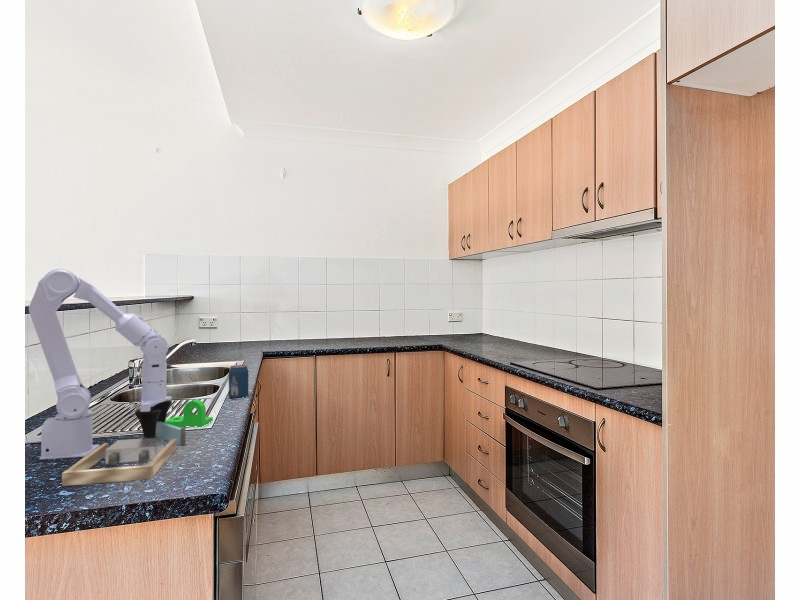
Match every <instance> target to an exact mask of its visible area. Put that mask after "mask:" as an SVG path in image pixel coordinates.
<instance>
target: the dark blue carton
mask: <svg viewBox="0 0 800 600" xmlns="http://www.w3.org/2000/svg"><path fill="white" fill-rule="evenodd" d="M228 396H229V397H228V398H230V397H231V398H242V397H246V396H247V397H248V396H249V369H248V366H247V365H245V364H239V365H238V364H236V365H230V369H229V370H228ZM247 397H246V398H247Z"/></svg>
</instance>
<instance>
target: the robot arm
mask: <svg viewBox="0 0 800 600" xmlns="http://www.w3.org/2000/svg"><path fill="white" fill-rule="evenodd" d="M72 295H73V297H72ZM70 297H72V298H75V299H78V300H83V301H86V302H89V303H90V304H91V305H92V306H93V307H95V308H96V309H97V310H99V312H102V314H103V315H105V316H107V317H108V318H109V319H110V320H111V321H113V322H114V323H115V327H114V328H115V331H116V332H118V333H119V334H120V335H121V336H122V337H123V338H125V339H126V340H127V341H128V342H130V343H131V344H132V345H133V346H134V347H140V350H141V352H142V364H141V399H140V409H136V410H135V411H134V413H135V416H136V417H137V419H138V421H139V423H140V426H141V430H142V433H143V437H144V439H145V438H155V437H156V425H157V422H159V421H161V422H164V423H165V420H167V415H168V412H169V409H170V407H171V406H172V403H173V400H172V397H173V396H172V395H171V396H168V395H167V394H168V393H167V390H168V388H167V387H168V385H167V384H168V383H167V381H168V379H167V378H168V370H167V366H168V362H167V353H168V352H169V345H168V342H167V340H166V339H165V338H164V337H162V335H161V334H159V331H158V330H157V329H156V328H152V327H151V326H149V325H148V324H147V323H146V322H144V317H143V316H141V315H136V314H135V313H125V312H124V311H122V309H120V308H119V307H118V306H117V305H116V304H115V303H114V302H113V301H111V300H110V299H109V298H108V297H107V296H106V295H105V294H103V293H102V292H101V291H100V290H99V289H98V288H97V287H95V286H93V285H92V284H90V282H89V283H88V281H86V280H84V279H83V278H80V277H78V276H77V275H75V274H74V273H73V272H72V271H71V270H69V269H65V268H55V269H51V270H50V271H48V272H47V273H45V275H44V276H43V277H42V278H41V279H40V280H39V281H38V282H37V286H36V290H35V292H34V293H33V297H32V299H31V300H30V304H29V306H28V313H29V316H30V319H31V321H32V324H33V327H34V328H35V331H36V332H35V333H36V334H37V338H38V340H39V341H38V342H39V343H40V346H41V349H42V351H43V354H44V357H45V359H46V362H47V365H48V368H49V371H50V373H51V377H52V379H53V382H54V388H55V392H56V393H55V394H56V397H57V401H56V406H55V407H56V411H57V413H56V415H55V416H54V417H48V418H46V420H45V421H44V422H43V424H42V426H41V432H40V433H41V434H40V435H41V436H40V438H41V439H40V443H41V445H40V446H41V447H40V448H41V449H40V451H41V452H40V454H41V455H40V457H39V460H52V459H53V460H54V459H68V458H81V457H82V458H84V457H85V456H87V455H88V454H90V453H91V452H92V451H94V450H95V449H96V448H98V447H99V446H101V444H99V443H98V444H93V441H94V440H93V436H94V435H93V432H94V431H93V428H94V427H93V422H94V421H93V410H90V409H89V408H90V404H91V403H90V402H91V400H92V399H91V398H92V394H91V391H90V389H88V388H87V386H85V385H84V384H83V383H82V380H81V377H80V376H79V374H78V371H77V368H76V365H75V363H74V359H73V358H72V355H71V351H70V349H69V346H68V343H67V340H66V337H65V335H64V332H63V329H62V328H63V327H62V326H61V323H60V320H59V316H58V314H57V311H58V309H59V308H60V307H61V306H62V305H63V303H64V301H65V300H67V299H68V298H70Z"/></svg>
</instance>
